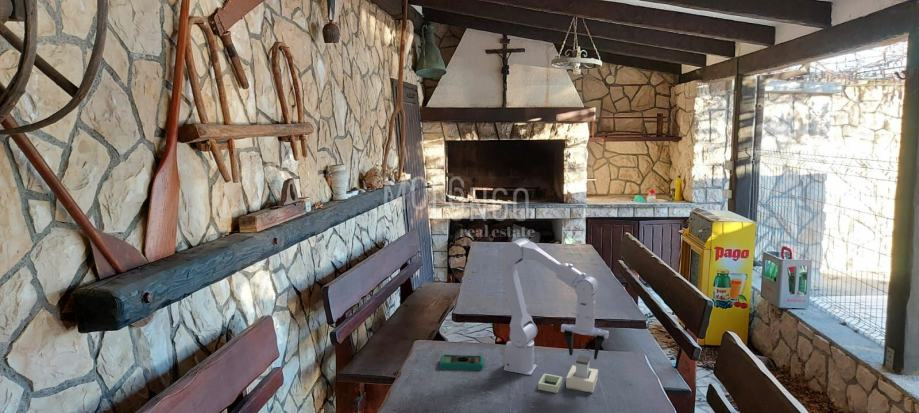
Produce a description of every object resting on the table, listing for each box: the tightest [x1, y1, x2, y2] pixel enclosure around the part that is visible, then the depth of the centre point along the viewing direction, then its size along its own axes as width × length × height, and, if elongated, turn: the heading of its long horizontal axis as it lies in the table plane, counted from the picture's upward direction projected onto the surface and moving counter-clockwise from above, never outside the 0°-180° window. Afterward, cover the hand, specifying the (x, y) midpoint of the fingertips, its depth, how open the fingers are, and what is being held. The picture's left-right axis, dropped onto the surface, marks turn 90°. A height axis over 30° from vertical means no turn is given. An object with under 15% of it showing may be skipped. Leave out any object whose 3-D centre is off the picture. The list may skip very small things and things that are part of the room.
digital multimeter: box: [439, 354, 485, 371], centre depth 192 cm, size 7×15×3 cm, turn 88°
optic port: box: [565, 364, 599, 394], centre depth 180 cm, size 8×10×4 cm
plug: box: [575, 354, 591, 379], centre depth 179 cm, size 4×5×8 cm
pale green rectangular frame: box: [537, 373, 564, 394], centre depth 178 cm, size 6×8×2 cm
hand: (583, 356), depth 179 cm, fingers open, 7 cm apart
